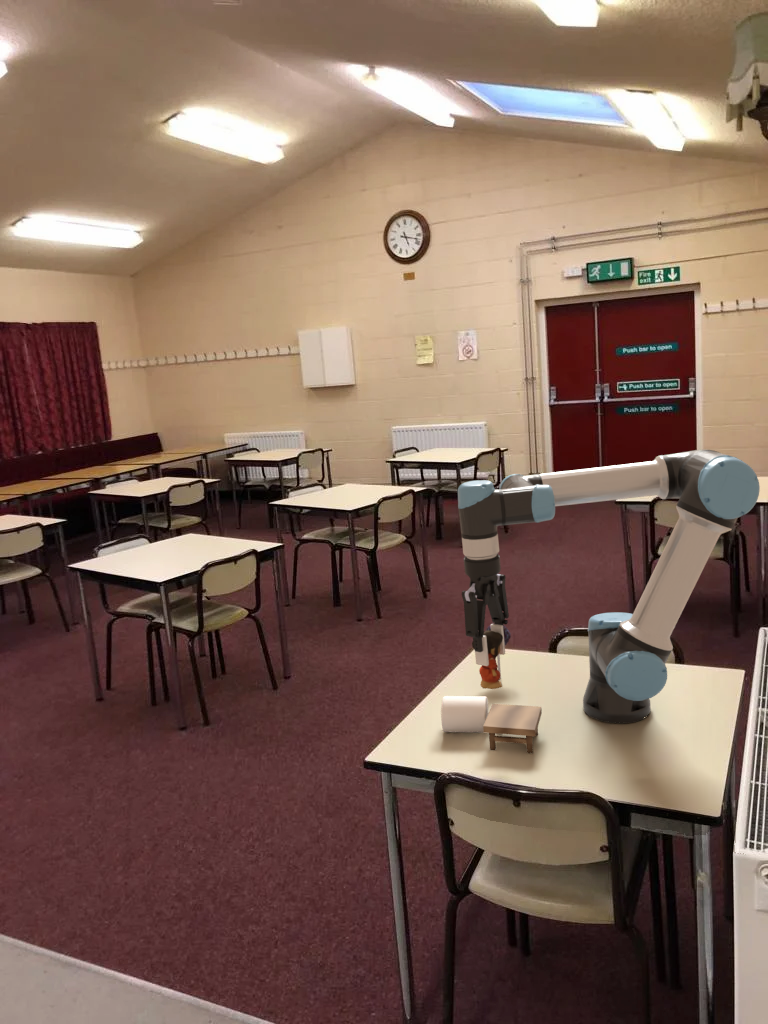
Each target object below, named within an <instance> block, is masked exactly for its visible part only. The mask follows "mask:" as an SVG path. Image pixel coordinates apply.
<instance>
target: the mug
mask: <svg viewBox="0 0 768 1024" xmlns="http://www.w3.org/2000/svg"><path fill="white" fill-rule="evenodd" d="M440 708H441V709H440V710H441V711H440V715H441V716H440V718H441V728H442V731H443V733H478V734H479V733H481V734H482V733H484V730H483V726H484V723H485V721H486V718H487V716H488V713H489V711H490V710H489V701H488V697H487V696H485V695H483V696H480V695H478V696H476V695H475V696H474V695H473V696H472V695H471V696H470V695H469V696H467V695H465V696H464V695H444V696H443V697H442V700H441V707H440ZM484 734H485V733H484Z"/></svg>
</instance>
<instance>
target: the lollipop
mask: <svg viewBox="0 0 768 1024" xmlns="http://www.w3.org/2000/svg"><path fill="white" fill-rule="evenodd" d="M503 629H504V644H505V646H507V644H508V643H509V641H510V639H511V637H512V636H511V632H510V630H509V628H508V627H507V626H506V625H505V624H503ZM488 630H489V631H491V627H490V625H488V626H487V627H486V629H485V631H488ZM500 656H501V654H498V656H497V657H496V663H497V666H498V668H497V670H498V671H499V672H500V674H501V676H500V679H501V678H502V673H501V657H500Z"/></svg>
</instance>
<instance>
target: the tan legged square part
mask: <svg viewBox="0 0 768 1024" xmlns="http://www.w3.org/2000/svg"><path fill="white" fill-rule="evenodd" d="M488 711H489V713H488V716H487V718H486V721H485V723H484V726H483V730H484V734H485V733H486V734H488V741H489V742H488V743H489V745H488V746H489V751H496V750H497V743H498V742H499V743H507V744H508V743H511V744H520V745H521V744H523V745H525V747H526V753H527V754H530V755H531V754H534V742H533V741H534V740H533V738H534V737H536V736H538V735H539V728H538V727H539V724H540V721H541V716H542V706H539V705H538V706H536V705H535V706H533V705H518V704H505V703H504V704H503V703H492V704H491V707H490V709H489V710H488ZM498 734H499V735H498ZM506 735H510V736H506ZM511 735H512V736H511ZM518 736H523V737H518Z"/></svg>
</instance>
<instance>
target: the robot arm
mask: <svg viewBox="0 0 768 1024" xmlns="http://www.w3.org/2000/svg"><path fill="white" fill-rule="evenodd" d="M759 480H760V479H758V475H757V474H756V472H755V470H754V469H753V468H752V467H751V465H749V464H747V463H746V462H744V461H743V460H742V459H739V458H738V457H735V456H732V455H728V454H725V453H723V452H722V453H721V452H719V451H716V450H713V449H695V450H689V451H682V452H677V453H670V454H664V455H663V454H661V455H658V456H655V458H654V459H653V460H652V461H651V460H649V461H643V462H634V463H633V462H632V463H625V464H617V465H616V464H614V465H608V466H599V467H597V466H596V467H591V468H581V469H573V470H563V471H556V472H555V471H553V472H545V473H540V474H538V473H537V474H531V475H530V474H528V475H524V474H520V473H513V474H509V475H507V476H506V477H505V478H503V479H502V481H501V482H500V484H499V489H498V488H496V489H495V487H494V483H493V482H492V481H490V480H487V479H486V480H485V479H483V480H482V479H481V480H479V479H478V480H469V481H466V482H463V483H461V484H460V485H459V486H458V488H457V508H458V515H459V524H460V526H459V527H460V533H461V543H462V554H463V555H464V558H463V566H464V574H465V575H466V576H468V577H469V588H468V589H467V590H462V591H461V597H462V600H463V609H464V610H463V611H464V626H465V627H464V630H465V636H466V637H471V638H472V642H474V648H473V650H474V655H475V664H476V665H479V666H482V665H483V666H488V665H489V660H488V649H487V639H486V636H484V631H485V622H486V607H488V611H489V615H490V617H491V621H492V623H491V624H490V625H489V626H490V627H491V631H494V632H499V633H500V634H501V635H502V636H503V640H502V643H501V645H500V653H499V654H500V655H505V654H506V645H505V644H504V629H503V625H504V626H506V625H508V623H509V620H508V618H510V617H509V616H510V615H509V607H508V597H507V589H506V578H507V577H506V575H505V574H500V572H501V569H502V567H501V557H500V554H499V553H500V544H499V543H500V542H499V534H498V533H499V532H498V527H499V526H509V525H510V526H511V525H519V524H529V523H536V524H537V523H541V522H546V521H551V520H553V519H554V517H555V514H556V507H561V506H569V505H570V506H571V505H579V504H587V503H588V504H589V503H598V502H606V501H607V502H608V501H616V500H617V501H618V500H625V499H634V498H644V497H654V496H658V498H659V499H660V500H661V499H662V500H668V499H669V500H670V499H679V500H678V501H677V502H676V506H675V508H676V511H677V513H678V519H677V521H676V523H675V525H674V528H673V530H672V532H671V533H670V536H669V538H668V541H667V542H666V545H665V546H664V548H663V551H662V553H661V555H660V557H659V559H658V561H657V564H655V568H654V569H653V571H652V574H651V575H650V578H649V580H648V581H647V584H646V585H645V588H644V590H643V592H642V594H641V596H640V599H639V601H638V603H637V605H636V607H635V609H634V610H633V613H629V612H617V611H616V612H603V613H599V614H598V613H597V614H595V615H592V616H591V617H590V618H589V619H588V626H587V627H588V628H587V632H588V656H589V657H588V658H589V661H588V663H589V679H588V683H587V685H586V688H585V691H584V694H583V697H582V698H583V699H582V704H583V705H582V706H583V711H584V712H585V714H586V715H587V716H589V717H591V718H592V719H593V720H594V719H595V720H596V721H600V722H603V723H604V722H605V723H610V724H631V723H636V722H640V721H642V720H644V719H645V718H644V717H646V716H647V715H648V714H649V713H650V714H651V711H650V710H651V698H654V697H656V696H657V695H658V694H659V693H660V692H661V691H662V690H663V689H664V688H665V686H666V684H667V680H668V670H667V668H668V667H667V666H666V664H667V661H668V659H669V657H670V655H671V653H672V651H673V649H674V647H673V643H672V641H671V635H672V634H673V632H674V629H675V628H676V625H677V623H678V621H679V618H680V617H681V615H682V613H683V611H684V609H685V607H686V605H687V602H688V601H689V599H690V596H691V594H692V592H694V591H693V590H694V588H695V587H696V585H697V582H698V581H699V579H700V576H701V574H702V572H703V570H704V568H705V566H706V564H707V562H708V561H709V558H710V556H711V555H712V554H711V553H712V552H713V551H714V548H715V546H716V544H717V542H718V540H719V539H720V536H721V535H722V534H725V533H728V532H729V531H732V529H734V526H735V524H736V522H737V521H738V518H740V517H742V516H744V515H746V514H748V513H749V512H750V511H751V510H752V509H753V508H754V506H755V505H756V504H757V501H758V499H759V496H760V491H761V490H760V487H761V486H760V481H759ZM650 714H649V715H650ZM649 715H648V716H649ZM648 716H647V717H648ZM647 717H646V718H647ZM643 718H644V719H643ZM641 719H642V720H641Z"/></svg>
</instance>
